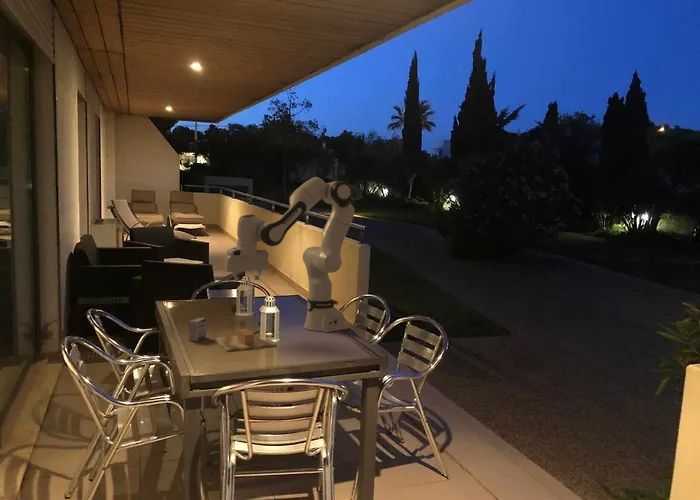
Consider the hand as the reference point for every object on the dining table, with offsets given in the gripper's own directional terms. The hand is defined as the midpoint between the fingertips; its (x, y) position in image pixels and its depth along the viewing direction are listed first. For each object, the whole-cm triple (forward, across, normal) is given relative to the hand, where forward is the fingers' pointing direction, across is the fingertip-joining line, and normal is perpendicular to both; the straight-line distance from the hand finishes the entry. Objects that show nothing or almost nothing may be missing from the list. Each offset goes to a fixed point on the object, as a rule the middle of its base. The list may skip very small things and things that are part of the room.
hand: (246, 280), depth 258 cm
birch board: (+24, +7, +17) cm, 30 cm away
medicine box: (+24, +24, +4) cm, 34 cm away
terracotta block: (+21, +7, +12) cm, 25 cm away
